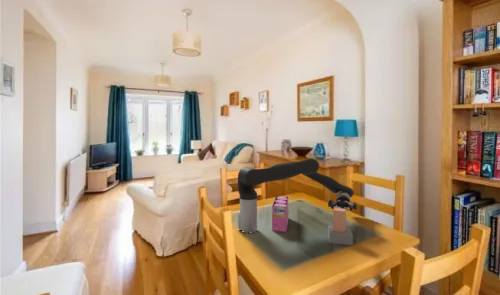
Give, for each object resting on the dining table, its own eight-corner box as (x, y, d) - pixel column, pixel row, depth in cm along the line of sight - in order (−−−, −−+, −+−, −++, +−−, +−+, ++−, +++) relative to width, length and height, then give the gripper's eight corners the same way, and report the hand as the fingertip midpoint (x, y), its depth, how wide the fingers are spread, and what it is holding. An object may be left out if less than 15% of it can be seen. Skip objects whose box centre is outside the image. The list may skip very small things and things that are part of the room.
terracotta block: (333, 230, 117) (333, 210, 117) (334, 227, 122) (335, 207, 121) (344, 232, 115) (344, 211, 115) (345, 229, 119) (345, 208, 119)
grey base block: (329, 243, 115) (330, 233, 114) (327, 235, 124) (328, 225, 124) (352, 245, 112) (352, 235, 112) (348, 237, 122) (349, 227, 122)
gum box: (275, 216, 153) (276, 195, 153) (288, 217, 152) (288, 195, 151) (271, 231, 130) (271, 205, 129) (286, 232, 128) (287, 206, 128)
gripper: (330, 193, 144) (327, 199, 129) (357, 195, 138) (356, 202, 124) (330, 205, 145) (327, 213, 130) (356, 208, 139) (356, 217, 124)
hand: (341, 208), depth 127 cm, fingers open, 8 cm apart
